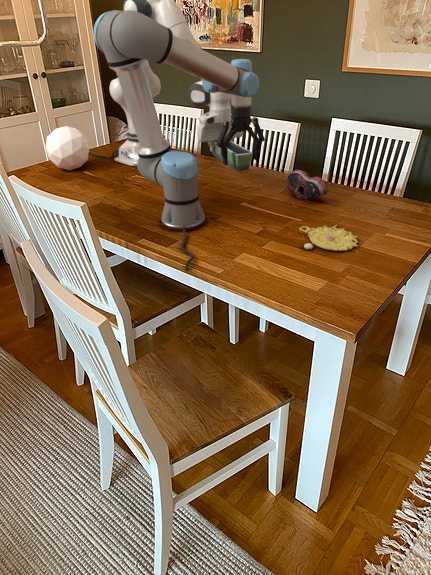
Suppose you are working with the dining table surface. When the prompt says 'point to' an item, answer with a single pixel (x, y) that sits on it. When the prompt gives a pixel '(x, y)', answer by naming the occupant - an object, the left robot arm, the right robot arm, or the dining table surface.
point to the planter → (234, 155)
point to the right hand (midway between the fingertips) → (240, 162)
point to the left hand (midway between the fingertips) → (220, 149)
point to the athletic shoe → (306, 185)
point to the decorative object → (330, 238)
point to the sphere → (67, 148)
